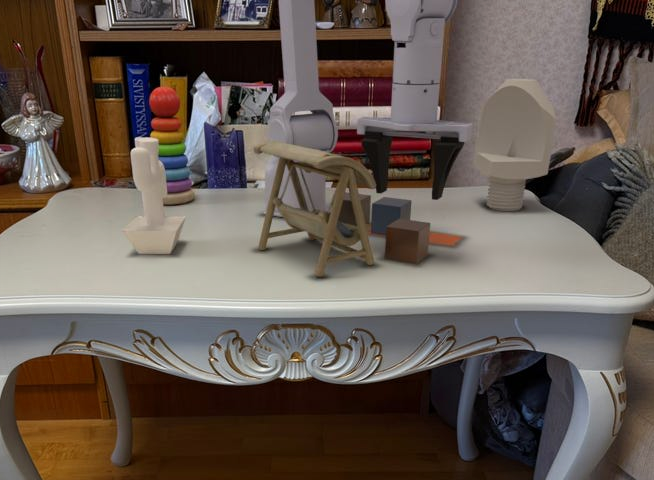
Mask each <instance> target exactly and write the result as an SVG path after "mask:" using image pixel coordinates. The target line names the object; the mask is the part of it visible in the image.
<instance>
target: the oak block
mask: <svg viewBox="0 0 654 480" xmlns="http://www.w3.org/2000/svg"><path fill="white" fill-rule="evenodd" d="M359 197H360V201H361V206H362V210H363V215H364V219H365V224H371V205H372V203H371V201H372V195H370V194H364V193H359ZM332 205H333V203H332ZM338 221H340V222H342V223H344V224H350V225H354V226H357V223H356V219H355V215H354V211H353V206H352V202H351V199H350V194H349V192H346V191H345V195H344V198H343V202H342V206H341V210H340V214H339V217H338Z"/></svg>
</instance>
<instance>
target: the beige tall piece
mask: <svg viewBox="0 0 654 480" xmlns="http://www.w3.org/2000/svg"><path fill="white" fill-rule="evenodd" d="M556 124H557V117H556V113H555V110H554V107H553V105H552V103H551V101H550V100H549V97H548V96H547V94H546V93H545V91H544V89H543V88H542V87H541V84H540V83H539V81H538V80H537V79H535V78H506V79H505V80H504V81H503V83H502V84H500V85H499V87H498V88H497V89H496V90H495V91H494V93H493V94H491V96H490V97H489V98H488V99H487V100H486V102H485V103H483V105H482V107H481V108H480V111H479V113H478V121H477V129H476V130H477V131H476V139H475V146H474V147H475V148H474V149H475V150H474V155H473V156H474V157H473V166H474V168H475V169H476V170H477V172H478V173H479V174H481V175H482V176H485V177H489V180H490V181H488V183H489V185H488V189H487V199H486V206H487V207H488V208H490V209H492V210H495V211H502V212H515V211H519V210H521V209H522V207H523V205H524V204H523V203H524V198H525V197H524V195H525V191H526V189H525V188H526V184H527V180H528V179H530V180H531V179H534V178H535V179H536V178H540V177H543V176H547V175H548V174H549V168H550V161H551V155H552V149H553V143H554V137H555V131H556Z"/></svg>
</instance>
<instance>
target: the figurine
mask: <svg viewBox="0 0 654 480" xmlns="http://www.w3.org/2000/svg"><path fill="white" fill-rule="evenodd" d="M134 146H135V147H134V148H132V149H131V150H130V163H131V170H132V178H133V183H134V186H135V188H136V189H137V190H138V191H139V192H141V198H142V208H143V216H140V215H137V216H135V217H133V218H132V220H131V221H129V223H128V224H127V225H126V226H125V227H124V228H123V229H122V233H123V234H124V236H125V237H126V238H127V240H128V242H130V244H131V245H132V247H133V248H134V249H135V251H136V252H137V253H138V255H171V254H172V253H173V251H174V249H175V248H176V246H177V244H178V241H179V239H180V235H181V233H182V230H183V228H184V224H185V222H186V219H187V216H165V210H164V209H165V208H164V204H163V198H165V197H166V196H167V184H166V174H165V168H164V165H163V163H162V162H161V161H159V158H158V152H159V140H158V139H156V138H150V137H142V136H137V137H135V138H134Z"/></svg>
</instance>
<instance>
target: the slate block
mask: <svg viewBox="0 0 654 480" xmlns="http://www.w3.org/2000/svg"><path fill="white" fill-rule="evenodd" d="M412 202H413V201H412V200H411V199H405V198H404V199H403V198H398V197H397V198H395V197H387V196H383V197H381V198H380V199H378V200H375V201H374V202H372V203H371V218H370V224H371V233H374V234H381V235H386V227H387V226H388V225H390V224H392V223H393V222H395V221H396V220H398V219H406V220H411V217H412V216H411V215H412V204H413V203H412Z"/></svg>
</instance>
